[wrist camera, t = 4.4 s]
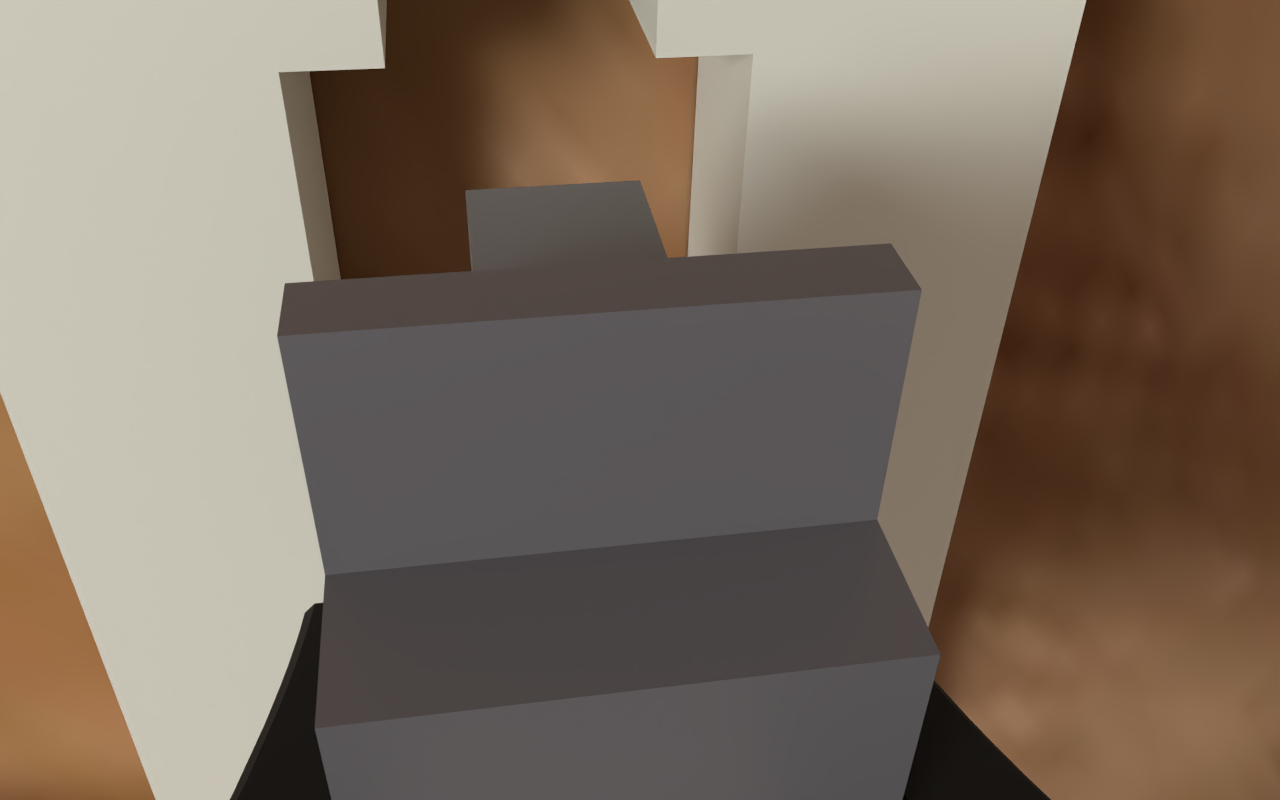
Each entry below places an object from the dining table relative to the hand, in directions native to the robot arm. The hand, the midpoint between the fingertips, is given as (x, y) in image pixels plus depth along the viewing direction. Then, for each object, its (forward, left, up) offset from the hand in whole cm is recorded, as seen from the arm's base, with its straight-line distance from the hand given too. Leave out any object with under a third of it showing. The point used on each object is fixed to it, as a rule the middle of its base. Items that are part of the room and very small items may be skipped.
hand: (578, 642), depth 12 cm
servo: (0, 0, -1) cm, 1 cm away
